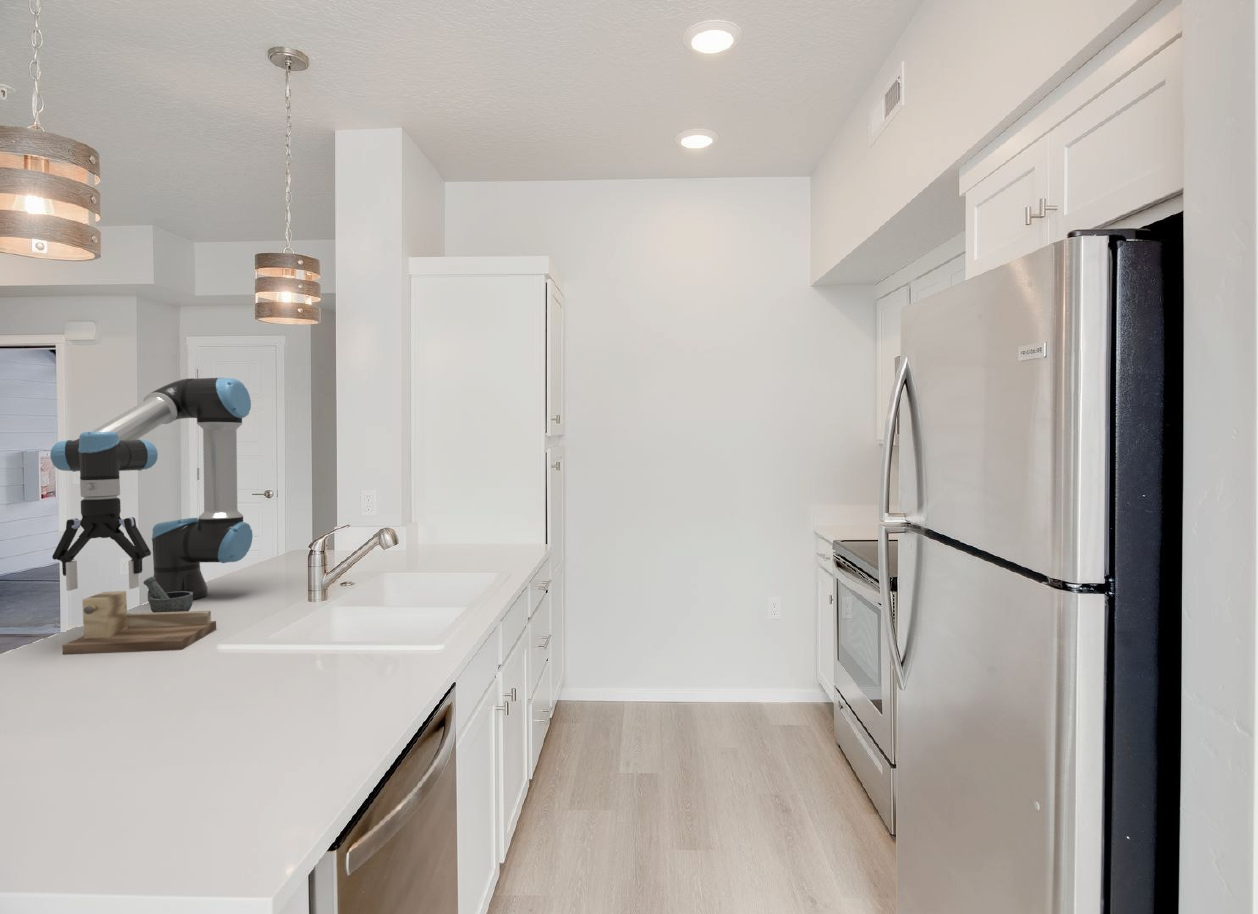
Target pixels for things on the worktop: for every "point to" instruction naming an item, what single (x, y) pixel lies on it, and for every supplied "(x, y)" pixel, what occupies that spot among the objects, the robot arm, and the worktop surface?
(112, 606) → the marking gauge
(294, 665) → the worktop surface
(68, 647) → the walnut board
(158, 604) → the mortar and pestle
